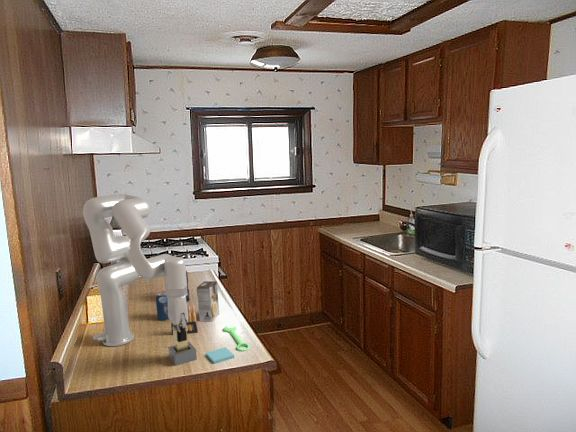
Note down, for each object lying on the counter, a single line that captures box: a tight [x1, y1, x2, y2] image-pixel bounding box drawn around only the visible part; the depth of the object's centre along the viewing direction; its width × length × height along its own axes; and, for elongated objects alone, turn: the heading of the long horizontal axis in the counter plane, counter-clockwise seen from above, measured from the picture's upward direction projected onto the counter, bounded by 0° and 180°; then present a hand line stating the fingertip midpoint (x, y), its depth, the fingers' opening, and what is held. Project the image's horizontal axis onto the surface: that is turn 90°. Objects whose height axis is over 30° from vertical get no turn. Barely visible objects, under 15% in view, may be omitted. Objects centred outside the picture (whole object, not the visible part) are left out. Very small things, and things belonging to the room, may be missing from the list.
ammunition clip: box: [170, 304, 198, 336], centre depth 189 cm, size 11×2×12 cm, turn 97°
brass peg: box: [172, 325, 189, 353], centre depth 166 cm, size 4×4×10 cm
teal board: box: [205, 346, 235, 364], centre depth 167 cm, size 8×8×1 cm
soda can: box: [155, 290, 170, 321], centre depth 207 cm, size 7×7×12 cm
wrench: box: [223, 326, 251, 352], centre depth 182 cm, size 25×2×5 cm
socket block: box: [167, 341, 198, 366], centre depth 167 cm, size 8×8×4 cm
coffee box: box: [196, 280, 220, 322], centre depth 205 cm, size 9×6×16 cm
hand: (180, 338), depth 166 cm, fingers closed on brass peg, 4 cm apart
